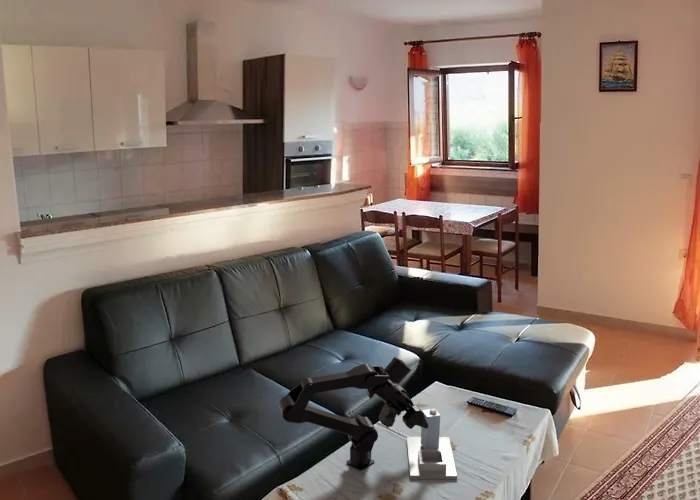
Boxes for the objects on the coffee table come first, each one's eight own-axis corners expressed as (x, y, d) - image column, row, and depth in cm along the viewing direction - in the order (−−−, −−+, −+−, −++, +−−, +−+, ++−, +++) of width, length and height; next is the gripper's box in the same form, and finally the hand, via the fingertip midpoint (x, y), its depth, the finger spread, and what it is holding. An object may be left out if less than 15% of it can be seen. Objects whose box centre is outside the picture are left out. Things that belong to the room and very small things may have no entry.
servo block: (425, 450, 207) (427, 414, 204) (420, 443, 211) (422, 408, 208) (438, 448, 209) (440, 412, 205) (433, 441, 213) (434, 406, 209)
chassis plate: (457, 479, 195) (457, 468, 194) (410, 478, 196) (410, 468, 195) (448, 440, 216) (449, 430, 215) (406, 440, 217) (406, 430, 216)
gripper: (362, 399, 210) (395, 424, 215) (381, 427, 192) (415, 454, 198) (386, 373, 210) (417, 399, 216) (406, 399, 193) (440, 427, 198)
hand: (422, 420), depth 207 cm, fingers open, 9 cm apart
